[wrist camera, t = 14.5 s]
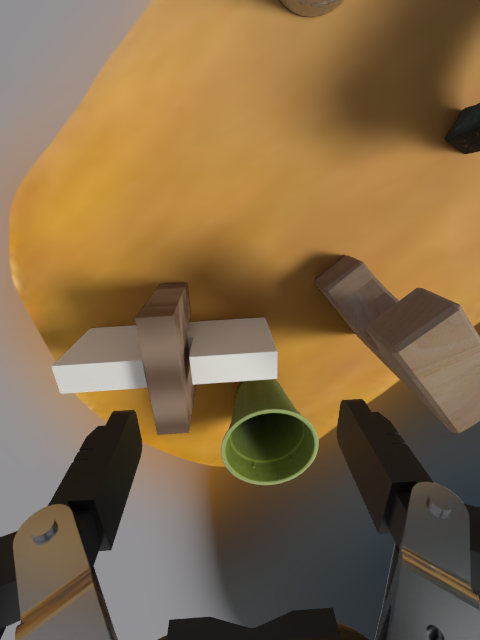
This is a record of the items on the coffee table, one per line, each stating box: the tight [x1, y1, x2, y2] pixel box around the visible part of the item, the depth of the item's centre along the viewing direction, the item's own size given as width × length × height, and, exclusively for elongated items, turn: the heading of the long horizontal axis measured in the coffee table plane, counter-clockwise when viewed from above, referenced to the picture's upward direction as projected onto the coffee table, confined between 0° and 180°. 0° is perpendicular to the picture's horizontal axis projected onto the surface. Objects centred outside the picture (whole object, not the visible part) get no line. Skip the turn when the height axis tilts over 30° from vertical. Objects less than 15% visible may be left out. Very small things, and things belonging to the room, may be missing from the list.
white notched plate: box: [52, 317, 277, 394], centre depth 37 cm, size 4×24×10 cm, turn 93°
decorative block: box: [315, 256, 480, 433], centre depth 31 cm, size 11×6×20 cm, turn 40°
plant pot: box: [221, 379, 319, 485], centre depth 41 cm, size 12×12×11 cm
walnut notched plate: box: [135, 283, 196, 435], centre depth 36 cm, size 14×4×12 cm, turn 3°
